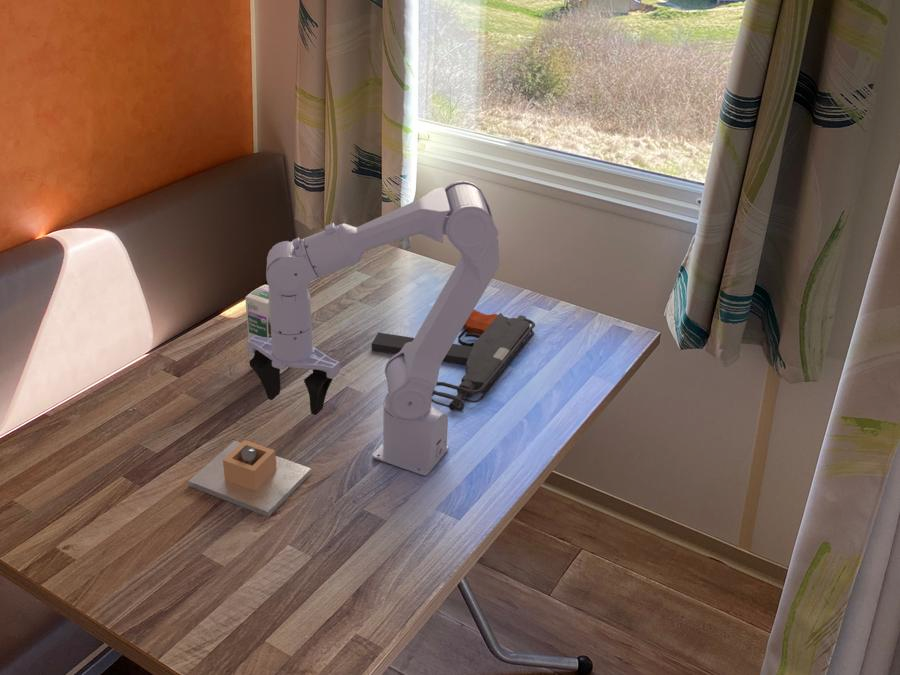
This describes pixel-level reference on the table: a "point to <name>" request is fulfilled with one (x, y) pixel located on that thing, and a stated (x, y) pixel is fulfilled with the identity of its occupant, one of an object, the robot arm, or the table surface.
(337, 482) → the table surface
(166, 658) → the table surface
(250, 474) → the ring
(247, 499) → the plate
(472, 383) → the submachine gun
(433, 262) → the table surface
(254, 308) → the syrup box
